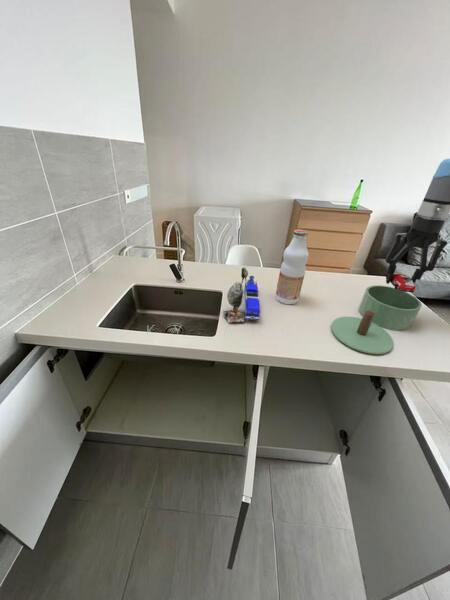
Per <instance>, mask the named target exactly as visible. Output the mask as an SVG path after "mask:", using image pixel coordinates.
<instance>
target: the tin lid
mask: <svg viewBox="0 0 450 600" xmlns="http://www.w3.org/2000/svg"><path fill="white" fill-rule="evenodd" d="M374 317H375V313H373V312H371V311H365V313H364V315H363V316H361V317H357V316H356V317H355V316H339V317H337V318H335V319H334V320H333V321H332V322H331V331H332V333H333V335H334V336H335V337H336V339H337V340H338V341H340V342H341V343H342V344H344V345H346V346H347V347H349V348H351V349H353V350H356V351H358V352H361V353H366V354H371V355H382V354H386V353H389V352H391V350H392V349H393V348H394V340H393V338H392V335H390V333H388V331H386V330H385V328H383V327H380V326H378V325H376V324H374V323H372V321H373V319H374Z"/></svg>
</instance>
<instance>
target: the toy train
mask: <svg viewBox="0 0 450 600" xmlns="http://www.w3.org/2000/svg"><path fill="white" fill-rule="evenodd" d="M248 277H249V278H248V280H247V281H245V280H244V316H245V320H246V321H249V320H251V321H259V320H260V314H261V306H260V296H259V288H258V280H257V279H256V280H255V276H254V275H248Z"/></svg>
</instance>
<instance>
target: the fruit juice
mask: <svg viewBox="0 0 450 600" xmlns="http://www.w3.org/2000/svg"><path fill="white" fill-rule="evenodd" d="M292 235H293V237H292V239H291V240H290V243H289V244H288V246H287V247H286V248H285V249H284V250H283V253H282V254H283V255H282V257H283V261H282V263H281V264H280V268H279V273H278V279H277V285H276V291H275V299H276V301H278V302H279V303H281V304H283V305H284V304H285V305H294V304H297V303H298V302H299V300H300V295H301V292H302V288H303V283H304V279H305V275H306V271H307V270H306V269H307V266H306V263H308V260H309V256H310V253H309V250H308V246H307V237H308V235H309V231H308V230H305V229H293V233H292Z"/></svg>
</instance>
